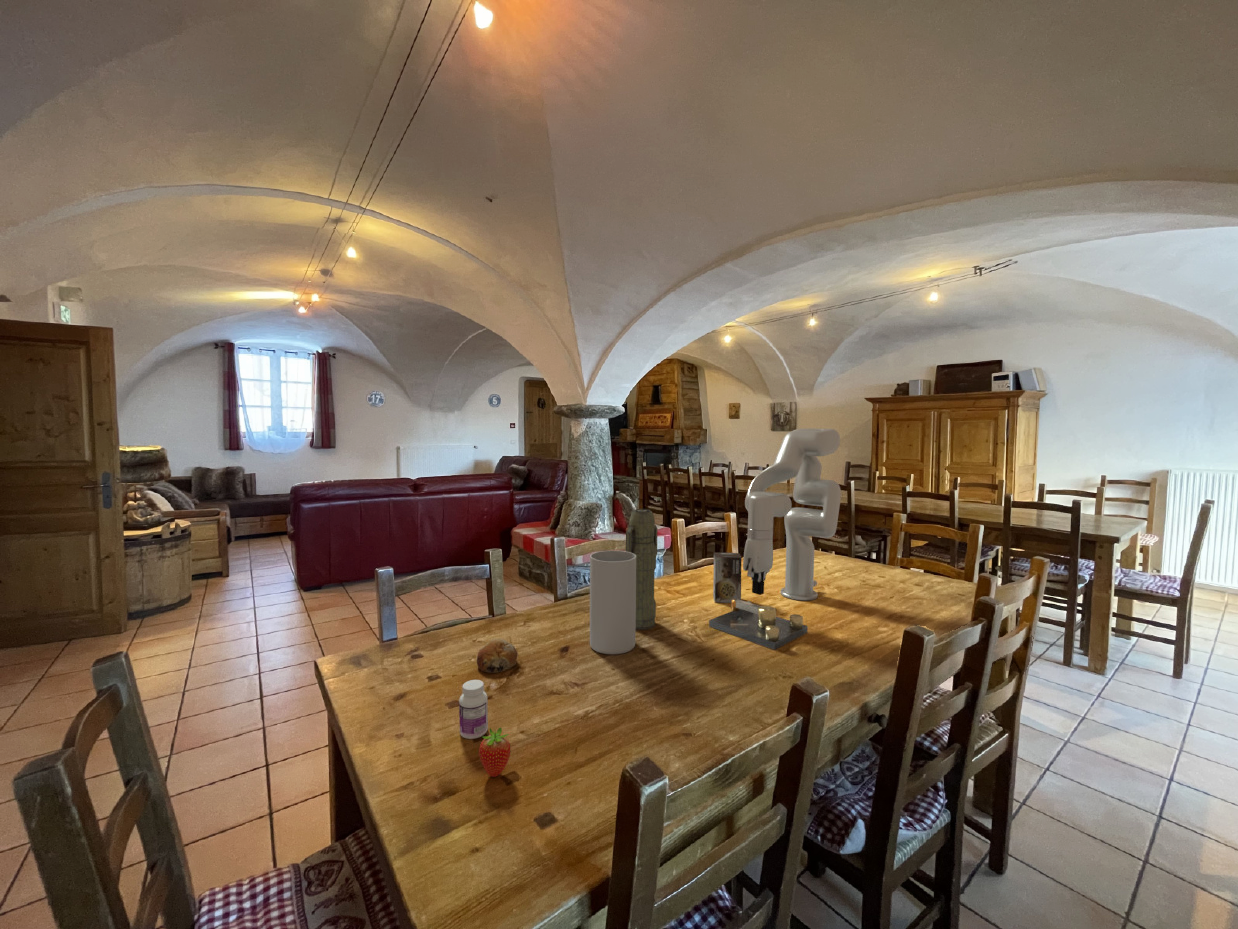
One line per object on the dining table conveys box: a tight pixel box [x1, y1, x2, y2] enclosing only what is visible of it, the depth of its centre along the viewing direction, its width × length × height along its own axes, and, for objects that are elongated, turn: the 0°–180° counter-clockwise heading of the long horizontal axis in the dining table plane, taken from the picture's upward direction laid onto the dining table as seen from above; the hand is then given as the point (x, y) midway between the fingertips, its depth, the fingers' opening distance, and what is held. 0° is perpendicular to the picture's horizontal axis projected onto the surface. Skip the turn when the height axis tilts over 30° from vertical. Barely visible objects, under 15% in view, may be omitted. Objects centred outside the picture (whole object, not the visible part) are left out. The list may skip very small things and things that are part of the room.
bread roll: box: [476, 638, 519, 674], centre depth 130 cm, size 10×10×8 cm
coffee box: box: [712, 552, 742, 604], centre depth 179 cm, size 9×6×16 cm
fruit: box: [478, 727, 511, 778], centre depth 88 cm, size 5×5×8 cm
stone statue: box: [625, 508, 658, 631], centre depth 156 cm, size 9×12×35 cm
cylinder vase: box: [589, 550, 637, 655], centre depth 141 cm, size 12×12×25 cm
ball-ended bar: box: [730, 599, 777, 629], centre depth 155 cm, size 15×5×5 cm, turn 42°
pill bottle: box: [458, 679, 489, 740], centre depth 101 cm, size 5×5×10 cm
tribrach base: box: [708, 601, 809, 651], centre depth 153 cm, size 18×22×5 cm
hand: (757, 593), depth 160 cm, fingers closed
